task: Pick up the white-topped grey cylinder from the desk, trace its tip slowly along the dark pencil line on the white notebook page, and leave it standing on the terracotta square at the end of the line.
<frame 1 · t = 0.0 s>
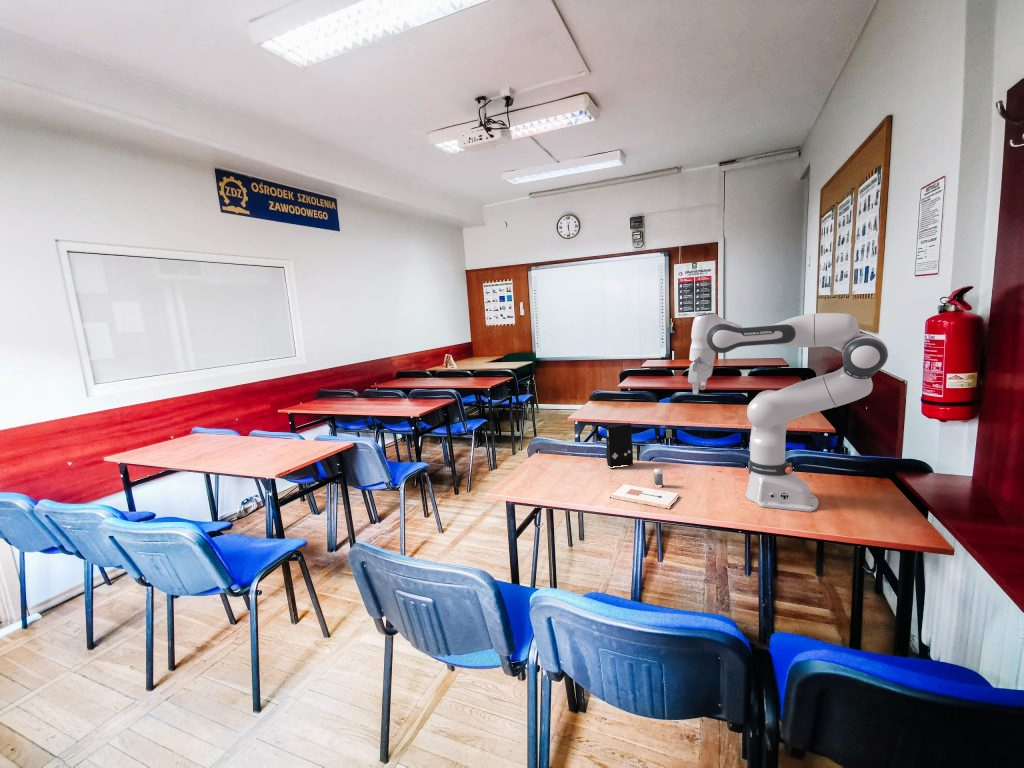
hand: (698, 391, 171), 39 cm above the table, tool pointing down, fingers open, 8 cm apart
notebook: (644, 497, 171), on the table
handheld gaming console: (620, 466, 208), on the table
white-topped grey cylinder: (658, 486, 181), on the table
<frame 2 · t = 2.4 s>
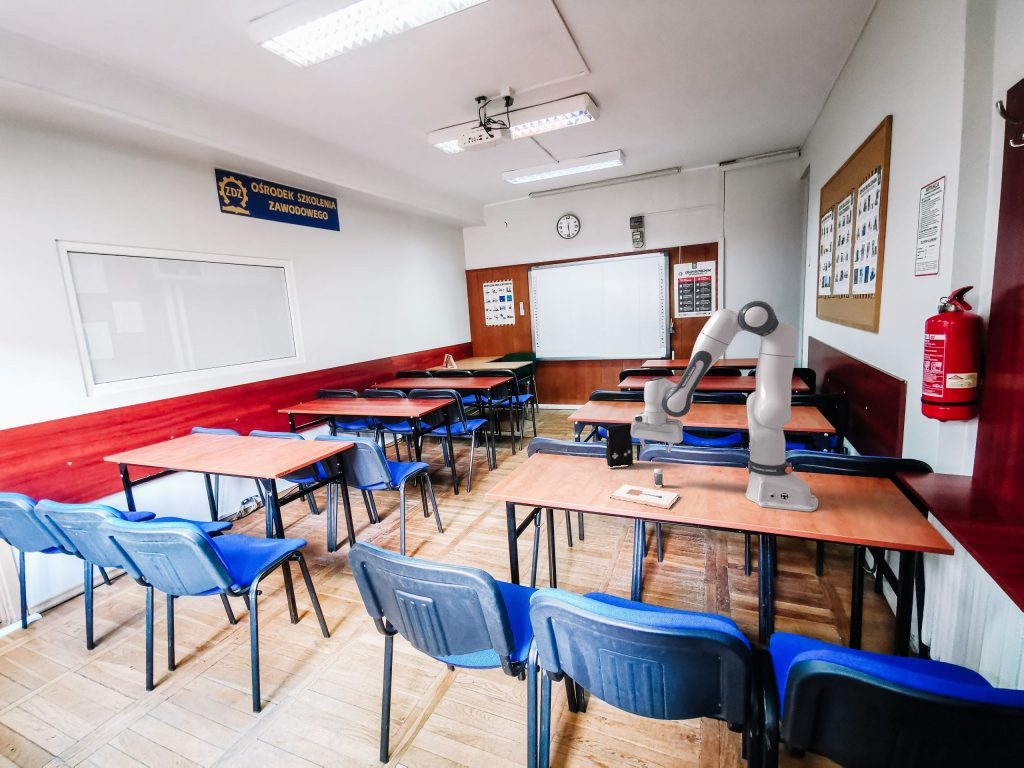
hand: (656, 450, 179), 15 cm above the table, tool pointing down, fingers open, 8 cm apart
nothing on the table moved.
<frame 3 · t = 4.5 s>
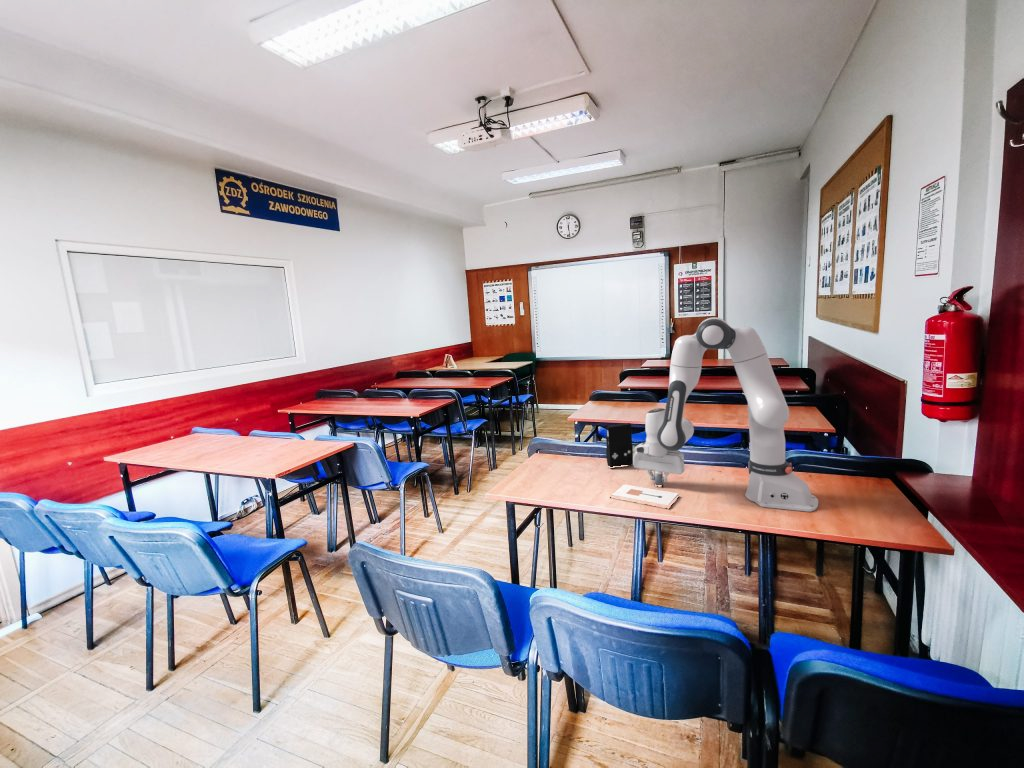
hand: (658, 480, 181), 2 cm above the table, tool pointing down, fingers closed on white-topped grey cylinder, 3 cm apart
white-topped grey cylinder: (658, 486, 181), on the table, touching gripper
everything else where it was.
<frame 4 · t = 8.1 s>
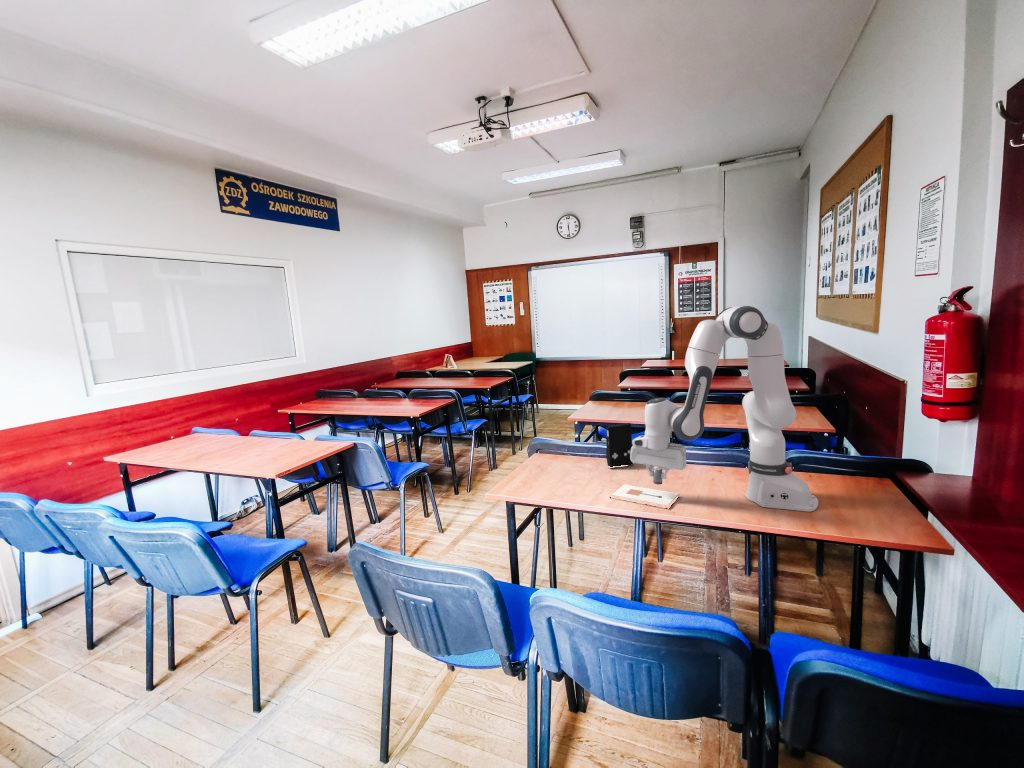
hand: (657, 477, 166), 9 cm above the table, tool pointing down, fingers closed on white-topped grey cylinder, 3 cm apart
white-topped grey cylinder: (657, 482, 167), point 7 cm above the table, touching gripper
everything else where it was.
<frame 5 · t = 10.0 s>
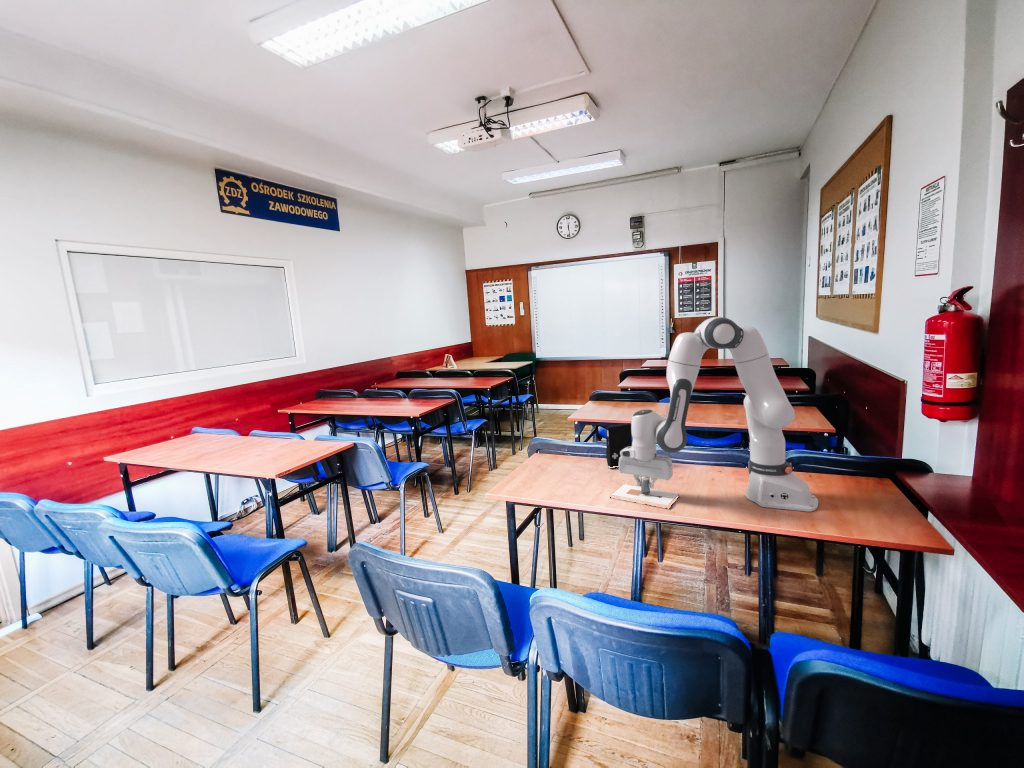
hand: (645, 486, 170), 4 cm above the table, tool pointing down, fingers closed on white-topped grey cylinder, 3 cm apart
white-topped grey cylinder: (645, 492, 171), point 2 cm above the table, touching gripper
everything else where it was.
when the fingers open (4 cm above the table, at t = 11.8 s): white-topped grey cylinder stays where it is, resting on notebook.
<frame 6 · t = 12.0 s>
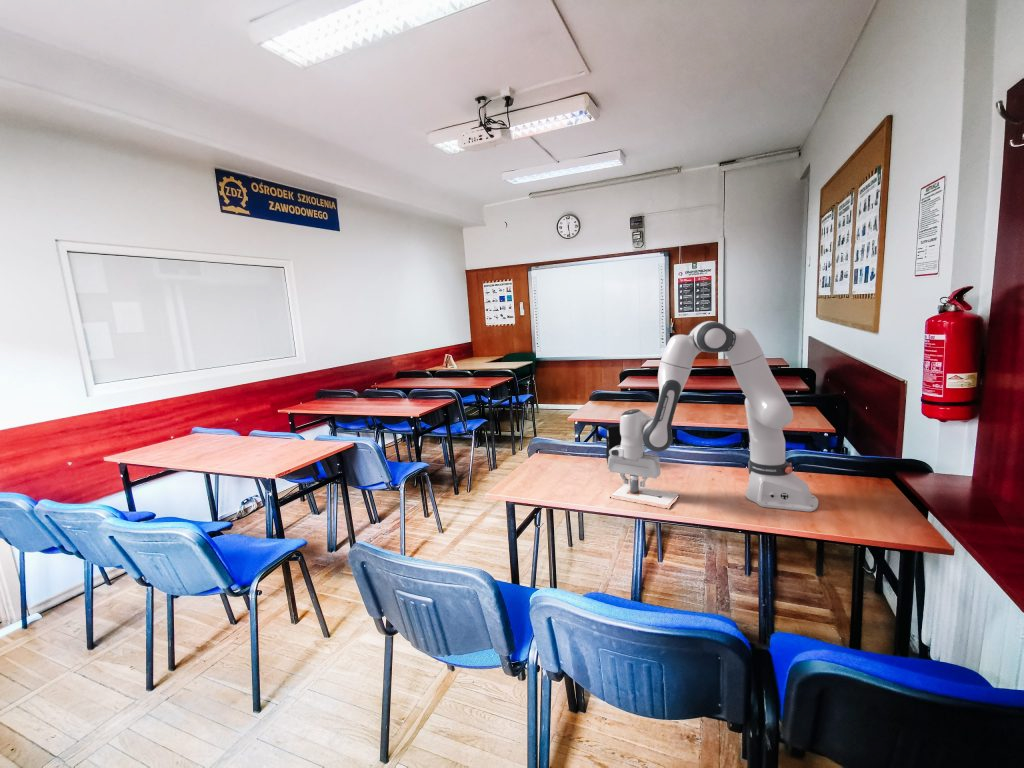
hand: (634, 485, 173), 4 cm above the table, tool pointing down, fingers open, 5 cm apart
white-topped grey cylinder: (634, 492, 174), point 1 cm above the table, touching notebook
everything else where it was.
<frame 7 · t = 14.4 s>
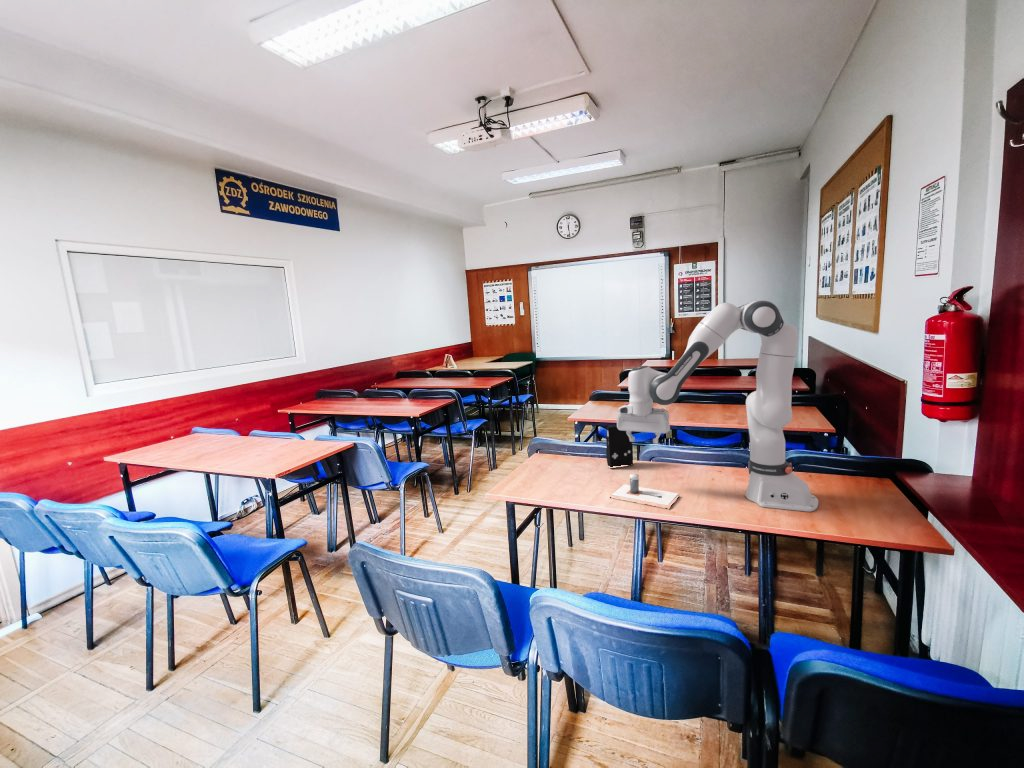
hand: (643, 442, 173), 20 cm above the table, tool pointing down, fingers open, 8 cm apart
nothing on the table moved.
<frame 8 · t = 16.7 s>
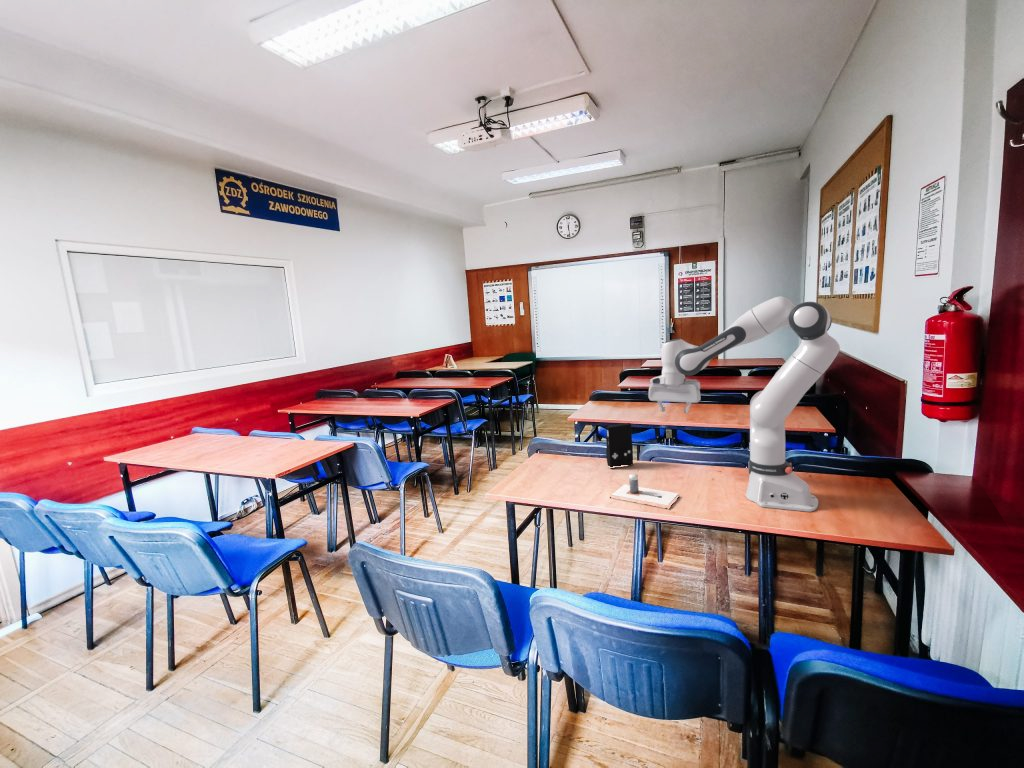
hand: (674, 412, 182), 29 cm above the table, tool pointing down, fingers open, 8 cm apart
nothing on the table moved.
at the end: white-topped grey cylinder 0.0 cm from the target spot on the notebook, point 1.4 cm above the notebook's base; white-topped grey cylinder tilted 2°; the gripper is holding nothing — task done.
